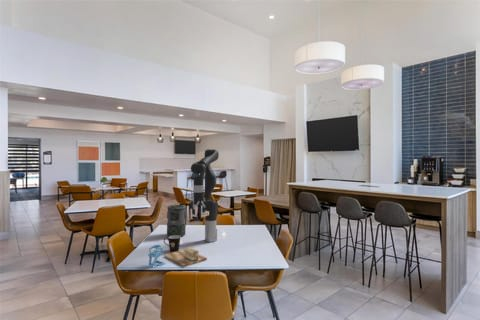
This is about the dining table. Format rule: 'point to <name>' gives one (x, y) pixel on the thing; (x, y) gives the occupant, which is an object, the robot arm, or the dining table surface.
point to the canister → (176, 220)
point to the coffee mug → (173, 243)
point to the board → (179, 258)
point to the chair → (155, 255)
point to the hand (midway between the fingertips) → (198, 213)
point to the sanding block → (191, 254)
